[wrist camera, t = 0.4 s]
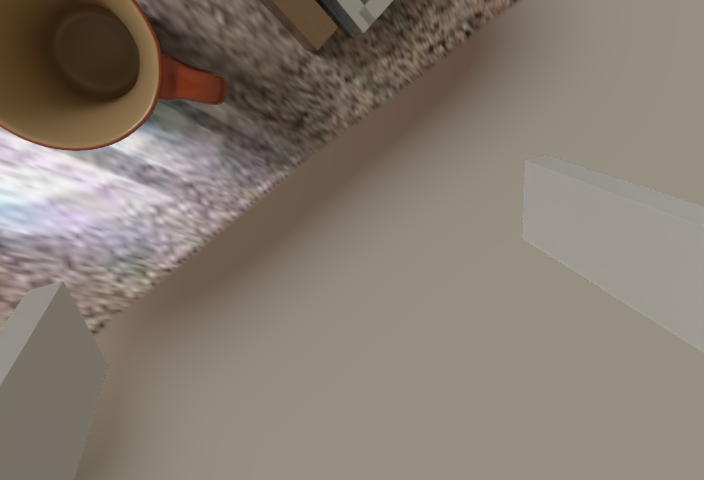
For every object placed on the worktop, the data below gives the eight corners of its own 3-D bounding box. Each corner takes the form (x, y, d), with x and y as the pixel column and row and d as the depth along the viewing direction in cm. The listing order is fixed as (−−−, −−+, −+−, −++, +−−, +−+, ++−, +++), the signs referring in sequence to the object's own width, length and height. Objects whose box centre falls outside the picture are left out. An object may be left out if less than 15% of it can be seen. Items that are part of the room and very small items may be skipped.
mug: (26, 103, 28) (-58, 130, 20) (26, -46, 26) (-72, -95, 17) (214, 141, 33) (216, 177, 24) (232, 17, 30) (242, 5, 21)
